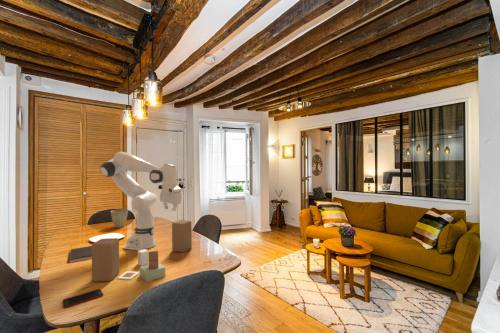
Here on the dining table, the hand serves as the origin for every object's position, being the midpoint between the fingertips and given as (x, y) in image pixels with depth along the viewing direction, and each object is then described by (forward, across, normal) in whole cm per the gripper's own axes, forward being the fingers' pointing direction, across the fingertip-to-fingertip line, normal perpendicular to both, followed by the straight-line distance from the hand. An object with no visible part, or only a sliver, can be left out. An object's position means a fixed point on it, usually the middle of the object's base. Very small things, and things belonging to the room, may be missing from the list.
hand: (170, 209), depth 158 cm
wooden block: (+31, -1, -38) cm, 49 cm away
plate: (+32, -73, -13) cm, 81 cm away
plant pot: (+31, -106, +9) cm, 111 cm away
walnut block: (+26, +16, -20) cm, 37 cm away
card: (+31, +6, -29) cm, 43 cm away
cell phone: (+32, +13, -52) cm, 63 cm away
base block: (+32, +16, -21) cm, 41 cm away
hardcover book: (+32, -50, -35) cm, 69 cm away
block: (+31, -6, +13) cm, 34 cm away
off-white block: (+31, -3, -17) cm, 35 cm away
